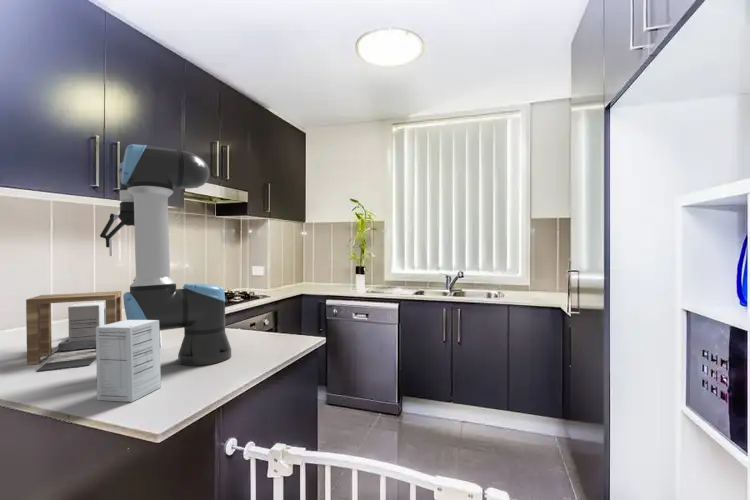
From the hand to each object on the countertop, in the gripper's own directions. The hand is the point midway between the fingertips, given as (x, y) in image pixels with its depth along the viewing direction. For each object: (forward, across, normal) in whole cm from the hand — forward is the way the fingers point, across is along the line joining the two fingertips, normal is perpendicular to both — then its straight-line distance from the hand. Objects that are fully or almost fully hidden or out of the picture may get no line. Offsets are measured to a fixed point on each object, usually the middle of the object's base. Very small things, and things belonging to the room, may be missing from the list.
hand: (131, 255), depth 150 cm
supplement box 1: (+32, +13, +11) cm, 36 cm away
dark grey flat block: (+32, +13, +36) cm, 50 cm away
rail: (+32, +12, +17) cm, 38 cm away
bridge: (+32, +12, +24) cm, 42 cm away
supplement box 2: (+33, -7, +71) cm, 78 cm away
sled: (+31, +12, +3) cm, 34 cm away
